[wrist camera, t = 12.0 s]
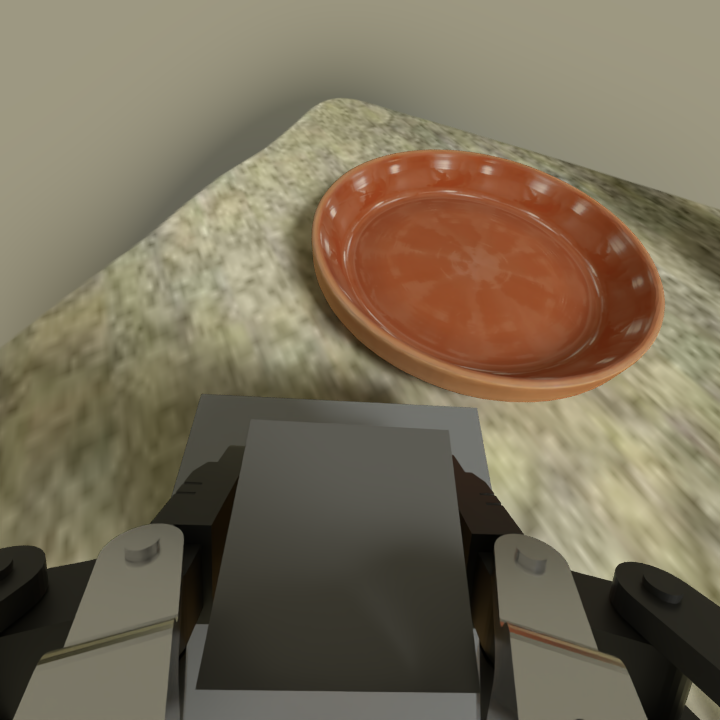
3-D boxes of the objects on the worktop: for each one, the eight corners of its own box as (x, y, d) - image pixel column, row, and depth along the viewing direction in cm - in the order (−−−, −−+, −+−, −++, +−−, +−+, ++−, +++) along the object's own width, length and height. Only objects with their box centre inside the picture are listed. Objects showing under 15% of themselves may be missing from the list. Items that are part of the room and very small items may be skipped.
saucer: (394, 160, 35) (401, 118, 32) (637, 247, 30) (672, 208, 27) (245, 313, 23) (232, 270, 20) (606, 493, 18) (662, 473, 15)
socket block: (229, 440, 18) (201, 393, 14) (442, 449, 19) (476, 407, 15) (159, 752, 12) (72, 836, 8) (478, 749, 13) (553, 825, 9)
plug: (290, 513, 15) (251, 419, 7) (382, 517, 16) (448, 429, 7) (276, 629, 13) (195, 689, 5) (383, 632, 13) (480, 693, 5)
